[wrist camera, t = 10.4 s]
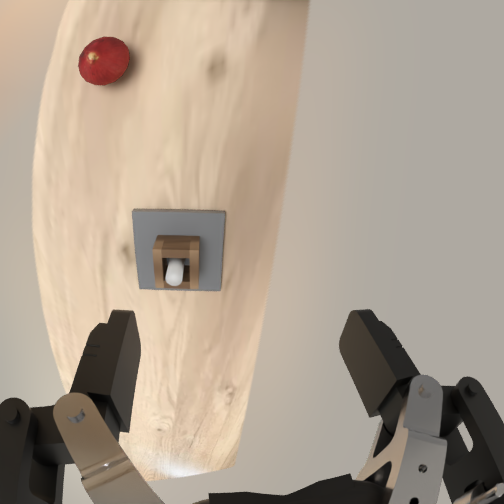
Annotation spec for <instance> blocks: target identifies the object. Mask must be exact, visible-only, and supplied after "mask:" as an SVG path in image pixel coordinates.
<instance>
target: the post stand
mask: <svg viewBox="0 0 504 504" xmlns="http://www.w3.org/2000/svg"><path fill="white" fill-rule="evenodd" d="M132 218H133V232H134V244H135V254H136V263H137V272H138V280H139V288H140V289H152V290H184V291H221V271H222V254H223V237H224V222H225V211H216V210H180V209H134V210H133V211H132ZM157 235H185V236H200V244H199V289H173V288H156V286H155V276H154V264H153V251H152V249H153V246H154V243H155V240H156V238H157ZM167 265H168V268H167V273H166V282H167V283H168V284H169V285H171V286H178V285H180V284H181V282H182V278H183V270H184V265H190V258H167Z"/></svg>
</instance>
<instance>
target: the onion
mask: <svg viewBox="0 0 504 504" xmlns="http://www.w3.org/2000/svg"><path fill="white" fill-rule="evenodd" d="M129 60H130V57H129V50H128V47H127V46H126V45H125V43H124V42H123V41H121V40H119V39H117V38H114V37H102V38H99V39H96V40H93V41H92V42H91V43H90V44H88V45H87V46H86V47H85V48H84V50H83V51H82V53H81V55H80V56H79V65H78V67H79V71H80V74H81V76H82V77H83V78H84V79H85V81H87V82H89V83H92V84H94V85H107V84H109V83H112V82H115V81H116V80H117V79H118V78H120V77H121V76H122V75H123V73H124V72H125V70H126V69H127V67H128V63H129Z"/></svg>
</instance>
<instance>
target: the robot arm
mask: <svg viewBox="0 0 504 504" xmlns="http://www.w3.org/2000/svg"><path fill="white" fill-rule="evenodd" d="M339 349H340V353H341V355H342V357H343V360H344V362H345V364H346V366H347V368H348V370H349V372H350V375H351V377H352V379H353V381H354V384H355V386H356V388H357V390H358V393H359V395H360V397H361V399H362V402H363V404H364V406H365V408H366V411H367V413H368V415H369V417H374V416H378V415H381V417H382V420H381V421H380V423H379V426H378V429H377V432H376V436H375V439H374V442H373V445H372V448H371V451H370V454H369V457H368V459H367V462H366V463H365V465H364V467H363V468H362V469H361V471H360V472H359V474H358V476H357V478H356V480H352V477H351V474H346V475H343V476H339V477H335V478H331V479H326V480H322V481H318V482H316V483H314V484H312V485H309V486H307V487H305V488H303V489H300V490H298V491H296V492H293V493H291V494H288V495H271V494H260V493H251V492H234V493H209V499H206V500H202V501H199V502H196V503H193V504H436V503H437V499H438V495H439V490H440V486H441V481H442V478H443V480H444V483H445V486H446V488H447V491H448V494H449V497H450V499H451V502H452V504H504V423H503V421H502V420H501V418H500V416H499V414H498V412H497V410H496V409H495V407H494V405H493V403H492V402H491V400H490V398H489V397H488V395H487V393H486V392H485V390H484V388H483V387H482V385H481V384H480V383H479V382H478V381H477V380H475V379H474V378H472V377H463V378H462V379H461V380H460V381H459V382H458V384H457V385H456V386H441V385H440V384H439V383H438V381H436V380H435V379H434V378H432V377H430V376H428V375H421V374H420V373H419V371H418V370H417V368H416V367H415V365H414V363H413V362H412V360H411V359H410V357H409V356H408V354H407V352H406V351H405V349H404V348H402V345H401V343H400V342H399V340H397V337H396V336H395V334H394V333H393V331H392V330H391V328H389V327H388V326H387V325H386V324H385V323H383V322H382V321H379V320H378V319H377V317H376V316H375V314H374V313H373V311H372V310H370V309H366V310H353V311H351V312H350V314H349V316H348V319H347V322H346V324H345V327H344V330H343V332H342V335H341V337H340V341H339ZM140 356H141V344H140V338H139V333H138V328H137V323H136V318H135V313H134V311H129V310H113V311H112V312H111V315H110V318H109V321H108V323H107V324H106V323H99V324H98V325H97V326H96V327H95V328H94V329H93V330H92V331H91V332H90V335H89V337H88V340H87V343H86V346H85V348H84V351H83V356H82V357H81V360H80V362H79V365H78V368H77V371H76V374H75V378H74V381H73V384H72V387H71V390H70V392H69V394H66V395H64V396H62V397H61V398H60V399H59V400H58V401H57V402H56V404H55V405H52V406H45V407H33V408H29V406H28V405H27V404H26V403H25V402H24V401H23V400H21V399H19V398H9V399H6V400H4V401H3V402H2V403H1V404H0V504H62V496H63V481H64V468H65V464H73V463H75V464H76V466H77V468H78V469H79V471H80V473H81V476H82V478H81V482H82V484H83V486H84V488H85V490H86V492H87V493H88V495H89V497H90V498H91V500H92V501H93V503H94V504H165V503H164V502H163V501H162V500H161V499H160V498H159V497H158V495H157V494H156V493H155V492H154V491H153V489H152V488H151V487H150V486H149V484H148V483H147V482H146V481H145V479H144V478H143V477H142V476H141V474H140V473H139V472H138V470H137V469H136V468H135V466H134V465H133V463H132V462H131V461H130V459H129V458H128V456H127V455H126V454H125V452H124V451H123V449H122V448H121V446H120V445H119V443H118V442H119V434H120V432H127V433H129V430H130V421H131V414H132V406H133V399H134V392H135V386H136V380H137V374H138V368H139V362H140ZM462 422H464V424H465V426H466V428H467V430H468V432H469V434H470V436H471V438H472V440H473V448H472V450H471V451H470V452H469V451H468V450H467V447H466V445H465V443H464V441H463V439H462V437H461V435H460V432H459V430H458V428H457V427H458V426H459V425H460V424H461V423H462Z"/></svg>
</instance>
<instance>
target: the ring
mask: <svg viewBox="0 0 504 504" xmlns="http://www.w3.org/2000/svg"><path fill="white" fill-rule="evenodd" d="M199 244H200V236H185V235H157V238H156V240H155V243H154V246H153V249H152V251H153V264H154V276H155V286H156V288H173V289H199ZM167 258H190V265H184V270H183V278H182V282H181V284H180V285H178V286H171V285H169V284H168V283H167V282H166V273H167V268H168V265H167Z"/></svg>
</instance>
